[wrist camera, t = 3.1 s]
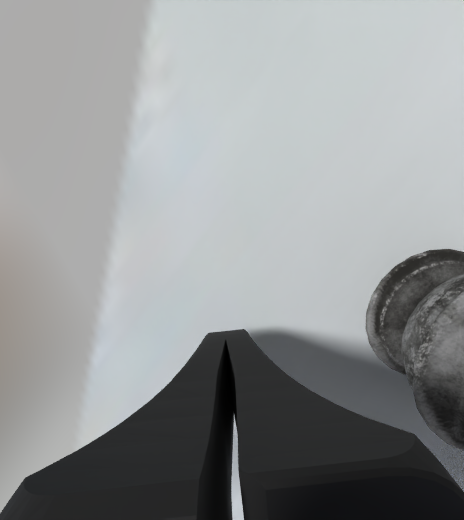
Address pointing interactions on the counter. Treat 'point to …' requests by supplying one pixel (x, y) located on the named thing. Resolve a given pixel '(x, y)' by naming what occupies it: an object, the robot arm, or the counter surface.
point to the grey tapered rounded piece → (425, 335)
